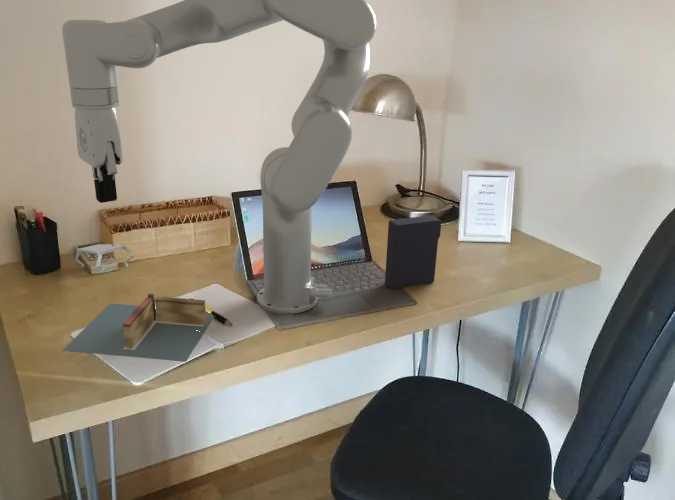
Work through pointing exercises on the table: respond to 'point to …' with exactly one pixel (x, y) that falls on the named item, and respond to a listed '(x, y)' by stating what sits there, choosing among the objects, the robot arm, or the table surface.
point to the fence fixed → (179, 310)
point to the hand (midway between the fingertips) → (107, 200)
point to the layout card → (154, 343)
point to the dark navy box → (412, 251)
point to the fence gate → (138, 322)
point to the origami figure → (102, 252)
